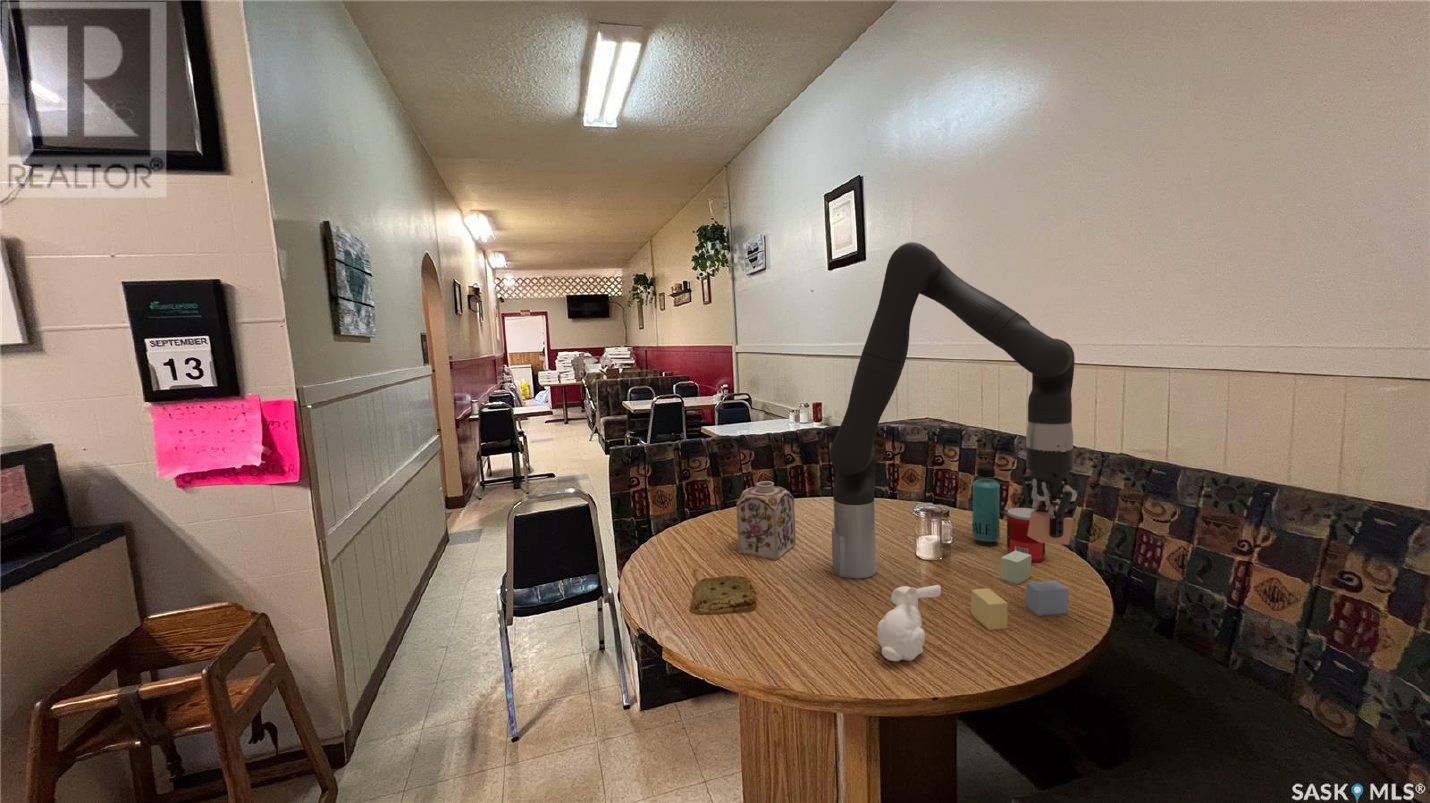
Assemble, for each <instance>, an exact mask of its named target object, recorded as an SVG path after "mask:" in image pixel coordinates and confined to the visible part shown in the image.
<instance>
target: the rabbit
mask: <svg viewBox="0 0 1430 803" xmlns="http://www.w3.org/2000/svg"><path fill="white" fill-rule="evenodd" d="M941 594H942V588H941V585H939V584H935V585H931V586H923V587H919V588H916V587H910V586H904V585H903V586H899V587H896V588H895V589H894V590H893V591H892V593H891V597H890V600H891V602H892V603H893V604H894V605H895V607H894V608H893V609H891V610H888V612H886V613H885V615H884V617H883V618H882V619H880V621H879V622H878V624H877V633H876V634H877V639H878V644H879V646H880V647H881V654H882V656H883V657H884V658H885V659H886V660H888V661H892V662H900V661H902V660H903V661H913V660H914V659H916V658H917V657H918V656H919V655H920V654H922V653H924V648H923V646H924V644H925V640H926V632H925V631H924V629H923V628H922V627H923V621H922V620H923V619H922V615H921V613H920V610H919V608H918V607H919V599H918V598H938V597H939V596H940V595H941Z"/></svg>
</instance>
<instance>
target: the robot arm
mask: <svg viewBox="0 0 1430 803" xmlns="http://www.w3.org/2000/svg"><path fill="white" fill-rule="evenodd" d="M919 295H922V296H924V297H926V298H927V299H931V300H933V301H935V302H936V303H938V304H940V305H942V306H943V307H944V308H946V309H947V310H949V311H950V312H951V313H953V314H954V315H955V316H956V317H957V318H958V319H960V320H961V321H962V322H963V323H964V324H965V325H967V326H968V327H969V328H971V329H972V330H973V331H974V332H975V333H976V334H979V335H980V336H981V337H983V338H984V339H986V340H987V341H989V342H991V343H992V344H993V345H994V346H996V347H998V348H1000V349H1001V350H1003V351H1004V352H1005V353H1006V354H1007V355H1008V356H1009V357H1011V358H1012V360H1014V361H1015V362H1016V363H1018V364H1019V365H1020V366H1021V367H1023V369H1025V370H1026V371H1027V372H1029V373H1031V374H1032V375H1031V376H1032V377H1031V378H1032V380H1031V385H1032V386H1031V391H1030V393H1029V395H1028V401H1027V426H1026V427H1027V428H1026V436H1025V438H1026V441H1025V442H1026V443H1025V444H1026V446H1025V447H1026V448H1025V449H1026V450H1025V452H1026V453H1025V454H1026V456H1025V458H1026V460H1025V462H1026V463H1025V466H1026V469H1028V470H1030V474H1021V475H1020V481H1021V485H1022V489H1023V490H1022V491H1023V494H1024V497H1025V502H1026V505H1028V506H1031V507H1032V508H1031V509H1033V510H1034V511H1037V512H1047V513H1048V512H1049V514H1050V530H1049V535H1050V536H1051V537H1053V538H1058V537H1062V536H1063V522H1064V518H1072V519H1073V517H1074V516H1075V514H1076V513H1075V512H1076V509H1077V507H1078V504H1079V502H1080V500H1081V499H1080V498H1081V496H1082V493H1081V491H1080V490H1078V489H1076V490H1075V489H1074V488H1072V487H1071V486H1070V480H1069V478H1068V475H1069V473H1071V472H1072V471H1073V470H1074V466H1073V465H1074V431H1073V430H1074V429H1073V424H1072V423H1073V422H1072V421H1073V420H1072V419H1073V418H1072V417H1073V414H1072V413H1073V405H1072V404H1073V403H1072V389H1073V382H1074V374H1075V358H1076V357H1075V352H1074V350H1073V348H1072V346H1071V345H1070V344H1069V343H1068V342H1066V341H1065V340H1063V339H1059V338H1053V337H1051V336H1049V335H1048V334H1046V333H1044V332H1043V331H1041V330H1039V329H1038V328H1037V327H1035V326H1033V325H1031V323H1030V321H1029V320H1028V318H1026V317H1024V316H1023V315H1022V314H1019V313H1018V312H1017V311H1015V309H1012V308H1010V307H1009V306H1008V305H1006V304H1004V303H1002V301H999V300H998V299H996V298H994V297H993V296H991V295H989V294H987V293H986V292H983V291H981V290H979V289H977V288H976V287H975V286H973V285H971V284H969V283H968V282H966V281H965V280H963V279H962V278H960V277H959V276H958V275H957V274H955V273H954V272H953V271H952V270H951V269H950V268H949V267H948V266H947V265H945V263H943V261H942V260H941V259H940V258H939V257H938V256H937V255H936V253H935V252H934V251H933V250H931V249H930V248H928V247H926V246H925V245H923V244H921V243H919V242H906V243H904V244H902V245H900V246H898V247H897V248H896V249H895V250H894V252H892V254H891V256H890V257H889V260H888V263H887V266H886V269H885V273H884V280H883V284H882V289H881V293H880V297H879V298H880V299H879V303H878V304H877V309H876V312H875V314H874V317H873V320H872V323H871V326H870V328H869V331H868V335H867V338H866V340H865V343H864V346H863V349H862V352H861V355H860V358H859V361H858V364H857V368H856V371H855V375H854V379H853V383H852V385H851V386H852V387H851V390H850V396H849V399H848V405H847V409H846V412H845V415H844V416H843V419H842V421H841V423H840V426H839V428H838V431H837V433H836V434H835V437H834V438H833V441H832V443H831V446H830V449H829V458H830V461H831V462H830V463H831V464H832V466H833V468H835V470H834V471H835V475H834V476H835V477H834V484H833V489H832V493H833V494H832V498H833V499H832V500H833V527H832V528H831V551H832V552H831V553H832V554H831V556H832V568H833V569H834V570H835V572H836V573H837V575H838V576H839V577H840V578H851V579H865V578H870V577H873V576H874V575H875V574H876V572H877V571H876V570H877V569H876V568H877V561H876V523H875V522H876V520H875V519H876V515H875V509H876V508H875V491H876V490H875V489H876V449H875V448H876V446H875V444H874V441H875V436H876V434H877V429H878V425H879V423H880V419H881V418H882V415H883V413H884V411H885V410H886V408H887V407H888V404H889V403H890V400H891V398H892V396H893V395H894V392H895V390H896V387H897V385H898V384H899V381H900V378H901V375H902V372H903V369H904V365H905V363H906V359H907V357H908V356H907V355H908V351H909V346H910V345H909V343H910V331H911V330H910V329H911V328H910V327H911V321H912V319H911V318H912V314H913V311H914V308H915V305H916V303H917V301H918V300H917V299H918V297H919ZM1056 507H1058V508H1057V511H1056Z"/></svg>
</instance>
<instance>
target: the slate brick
mask: <svg viewBox="0 0 1430 803" xmlns="http://www.w3.org/2000/svg"><path fill="white" fill-rule="evenodd" d="M1025 589H1026V590H1025V591H1026V593H1025V594H1026V597H1025V599H1026V600H1025V602H1026V603H1025V607H1026V608H1027V609H1028V610H1030V611H1031V612H1033V613H1034V614H1035V615H1037V616H1038V617H1039V616H1049V615H1059V614H1068V613H1069V612H1068V611H1069V588H1068V587H1067V586H1065V585H1064V584H1062V583H1060V582H1059V581H1058V580H1047V581H1037V582H1036V581H1035V582H1026V588H1025Z"/></svg>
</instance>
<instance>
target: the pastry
mask: <svg viewBox="0 0 1430 803" xmlns="http://www.w3.org/2000/svg"><path fill="white" fill-rule="evenodd" d="M692 589H693V590H692V591H693V592H692V598H691V603H690V606H689V609H690V610H689V611H690V612H691V613H693V614H695V615H702V616H703V615H710V616H711V615H712V616H713V615H715V616H716V615H723V614H733V613H750V612H752V611H755V609H756V608H757V598H758V597H757V591H756V590H755V587H754V585H753V584H752V581H751V579H750V578H749V577H747V576H740V575H722V576H715V577H705V578H701V579H699V580H698V581H697V582H696V583H695V584H694V586H693V588H692Z"/></svg>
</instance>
